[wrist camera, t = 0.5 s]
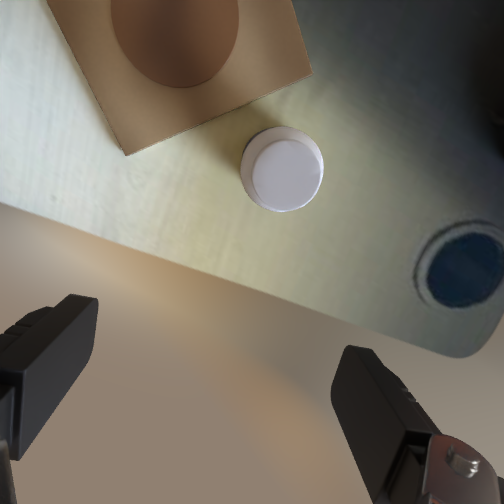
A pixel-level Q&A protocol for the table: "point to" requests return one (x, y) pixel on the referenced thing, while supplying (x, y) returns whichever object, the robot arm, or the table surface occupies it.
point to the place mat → (180, 59)
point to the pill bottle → (281, 168)
